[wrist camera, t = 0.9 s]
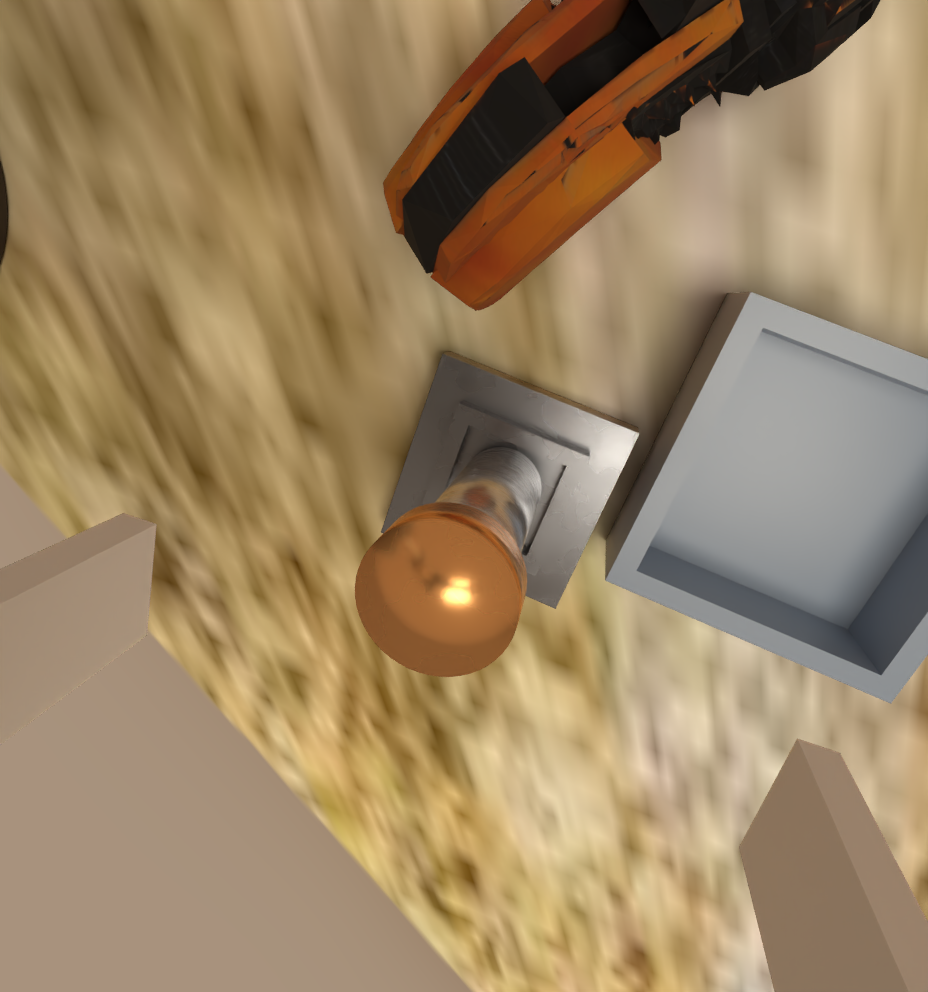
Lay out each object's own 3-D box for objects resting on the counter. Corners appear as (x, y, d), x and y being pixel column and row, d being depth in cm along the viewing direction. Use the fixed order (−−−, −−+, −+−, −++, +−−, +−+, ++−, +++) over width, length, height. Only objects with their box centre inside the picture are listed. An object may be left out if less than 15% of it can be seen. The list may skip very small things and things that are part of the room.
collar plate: (390, 523, 35) (374, 538, 33) (450, 351, 32) (437, 355, 29) (557, 596, 34) (553, 617, 32) (638, 427, 31) (640, 438, 29)
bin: (605, 540, 33) (605, 580, 28) (727, 293, 28) (750, 291, 24) (849, 644, 32) (891, 703, 27) (1016, 403, 27) (1100, 425, 23)
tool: (826, 80, 31) (1222, -258, 16) (459, 359, 30) (521, 272, 15) (736, -68, 30) (1069, -573, 15) (353, 216, 29) (310, -26, 14)
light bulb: (436, 511, 33) (335, 635, 21) (471, 418, 31) (383, 494, 19) (530, 551, 32) (483, 702, 20) (570, 459, 31) (545, 565, 18)
